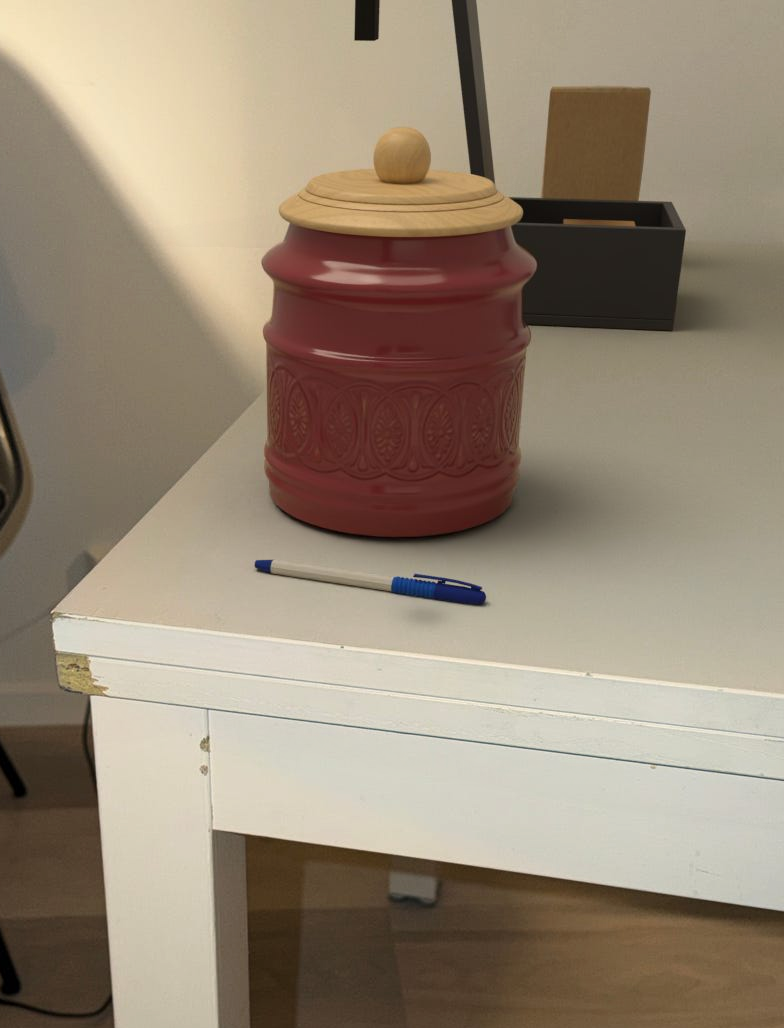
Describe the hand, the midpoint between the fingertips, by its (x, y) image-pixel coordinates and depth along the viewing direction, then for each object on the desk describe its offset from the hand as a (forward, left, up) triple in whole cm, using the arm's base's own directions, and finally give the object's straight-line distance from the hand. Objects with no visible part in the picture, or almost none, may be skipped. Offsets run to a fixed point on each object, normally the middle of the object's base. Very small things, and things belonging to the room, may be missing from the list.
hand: (366, 39), depth 97 cm
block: (-13, -13, -18) cm, 26 cm away
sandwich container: (+4, -30, -19) cm, 36 cm away
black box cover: (-6, -6, -4) cm, 10 cm away
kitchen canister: (-35, +26, -19) cm, 48 cm away
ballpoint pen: (-43, +34, -20) cm, 58 cm away
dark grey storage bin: (-12, -12, -19) cm, 26 cm away
